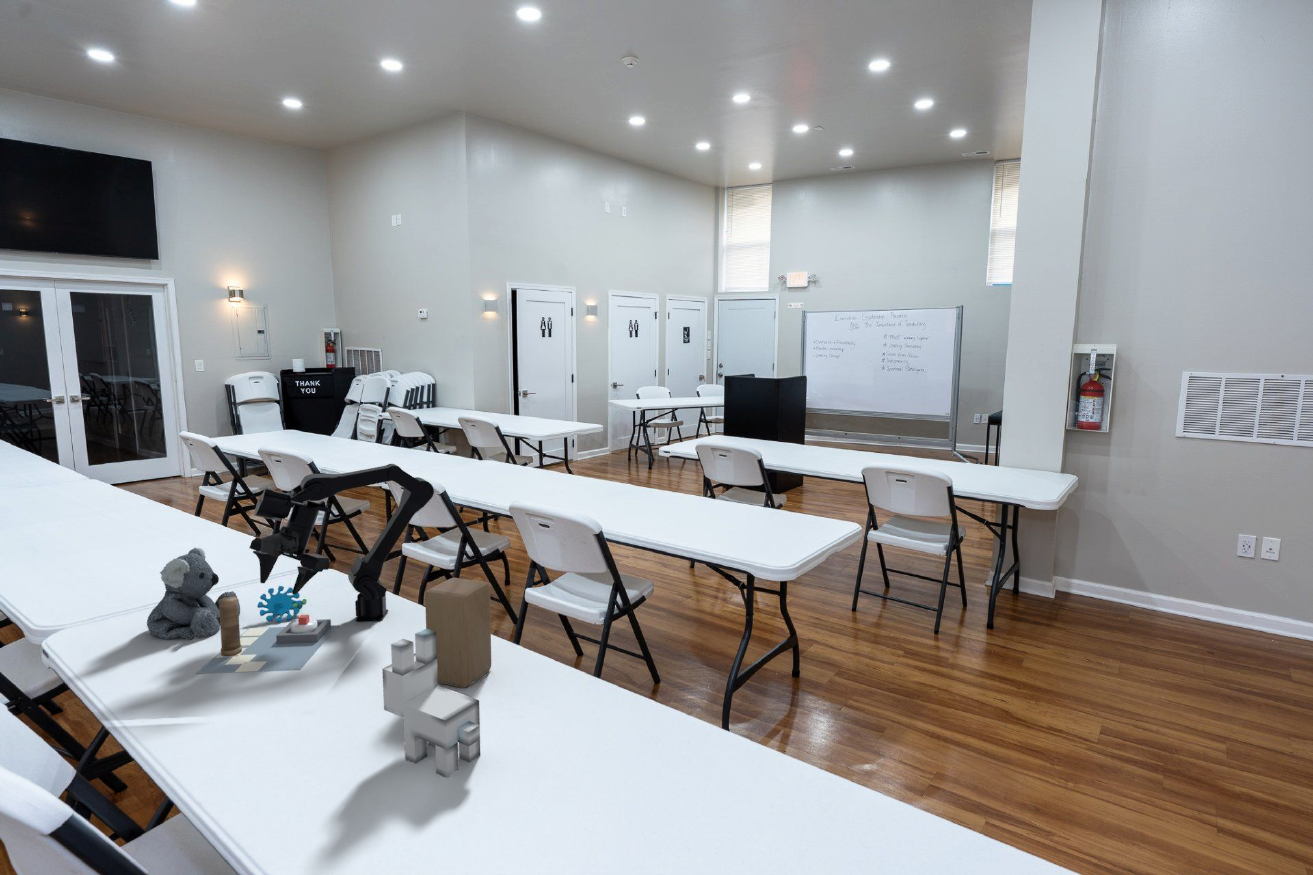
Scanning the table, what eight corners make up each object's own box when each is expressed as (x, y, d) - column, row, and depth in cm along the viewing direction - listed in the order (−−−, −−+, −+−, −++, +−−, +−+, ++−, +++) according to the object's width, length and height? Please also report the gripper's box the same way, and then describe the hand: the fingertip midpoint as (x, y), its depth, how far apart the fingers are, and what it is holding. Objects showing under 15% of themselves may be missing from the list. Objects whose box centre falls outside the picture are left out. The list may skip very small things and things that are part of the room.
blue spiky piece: (256, 621, 168) (259, 584, 174) (254, 631, 172) (257, 595, 178) (306, 619, 174) (307, 583, 180) (303, 629, 178) (305, 594, 184)
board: (339, 628, 169) (338, 617, 169) (300, 673, 145) (299, 660, 145) (249, 631, 166) (248, 620, 166) (195, 677, 143) (194, 664, 142)
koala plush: (213, 641, 161) (207, 561, 158) (129, 645, 158) (121, 564, 155) (245, 613, 178) (240, 540, 175) (169, 617, 175) (163, 543, 172)
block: (493, 669, 148) (491, 581, 146) (466, 690, 139) (464, 596, 137) (454, 661, 152) (452, 575, 149) (425, 682, 142) (422, 590, 140)
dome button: (321, 628, 166) (320, 611, 165) (312, 638, 160) (311, 620, 160) (297, 629, 165) (296, 611, 165) (287, 638, 160) (286, 621, 159)
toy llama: (458, 783, 109) (455, 665, 107) (385, 750, 118) (381, 640, 116) (491, 759, 116) (489, 647, 113) (420, 729, 124) (416, 625, 122)
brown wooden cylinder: (246, 649, 155) (242, 596, 153) (233, 657, 151) (229, 603, 149) (230, 648, 155) (226, 595, 154) (216, 655, 151) (213, 602, 150)
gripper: (243, 512, 159) (219, 577, 157) (310, 534, 155) (286, 601, 152) (278, 516, 169) (256, 577, 167) (341, 536, 165) (319, 599, 163)
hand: (278, 588), depth 162 cm, fingers open, 9 cm apart
